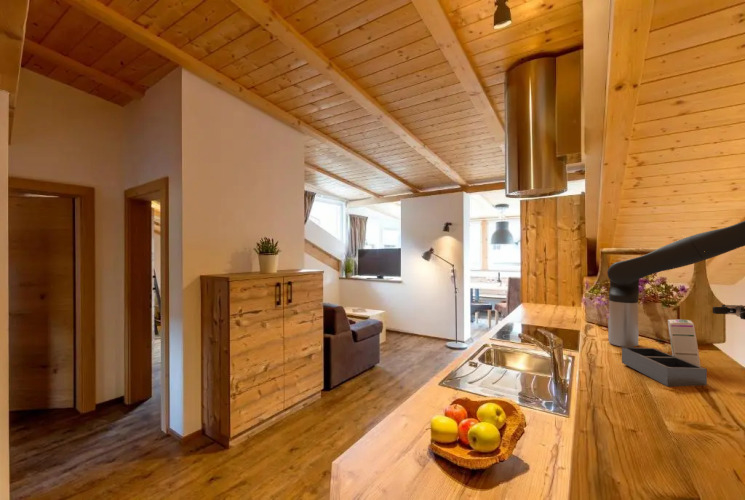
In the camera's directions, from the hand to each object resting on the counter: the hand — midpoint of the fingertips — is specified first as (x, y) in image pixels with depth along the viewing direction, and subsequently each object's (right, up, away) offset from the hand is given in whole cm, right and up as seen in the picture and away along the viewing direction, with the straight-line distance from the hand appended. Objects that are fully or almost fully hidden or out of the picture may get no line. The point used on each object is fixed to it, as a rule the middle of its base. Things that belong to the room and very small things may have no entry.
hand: (726, 312), depth 98 cm
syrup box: (-11, -18, +1) cm, 21 cm away
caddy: (-23, -18, -3) cm, 29 cm away
